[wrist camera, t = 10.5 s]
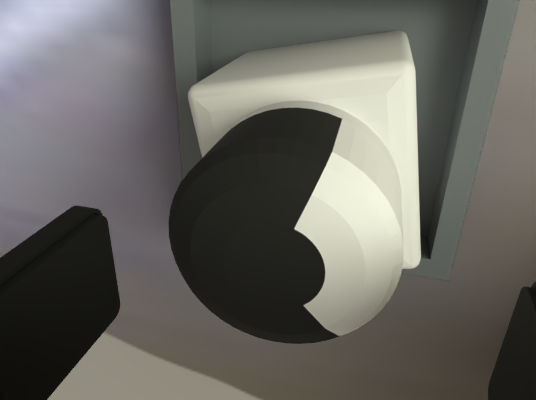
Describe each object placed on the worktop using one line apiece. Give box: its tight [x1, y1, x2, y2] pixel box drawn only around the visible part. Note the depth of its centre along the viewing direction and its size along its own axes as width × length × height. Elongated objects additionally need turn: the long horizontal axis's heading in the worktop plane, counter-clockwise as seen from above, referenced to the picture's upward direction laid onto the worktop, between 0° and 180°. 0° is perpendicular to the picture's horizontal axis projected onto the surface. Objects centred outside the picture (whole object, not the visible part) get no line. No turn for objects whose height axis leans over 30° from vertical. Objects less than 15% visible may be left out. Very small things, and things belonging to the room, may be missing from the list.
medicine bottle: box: [169, 31, 421, 344], centre depth 16 cm, size 7×7×12 cm
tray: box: [170, 0, 520, 281], centre depth 21 cm, size 13×13×3 cm
